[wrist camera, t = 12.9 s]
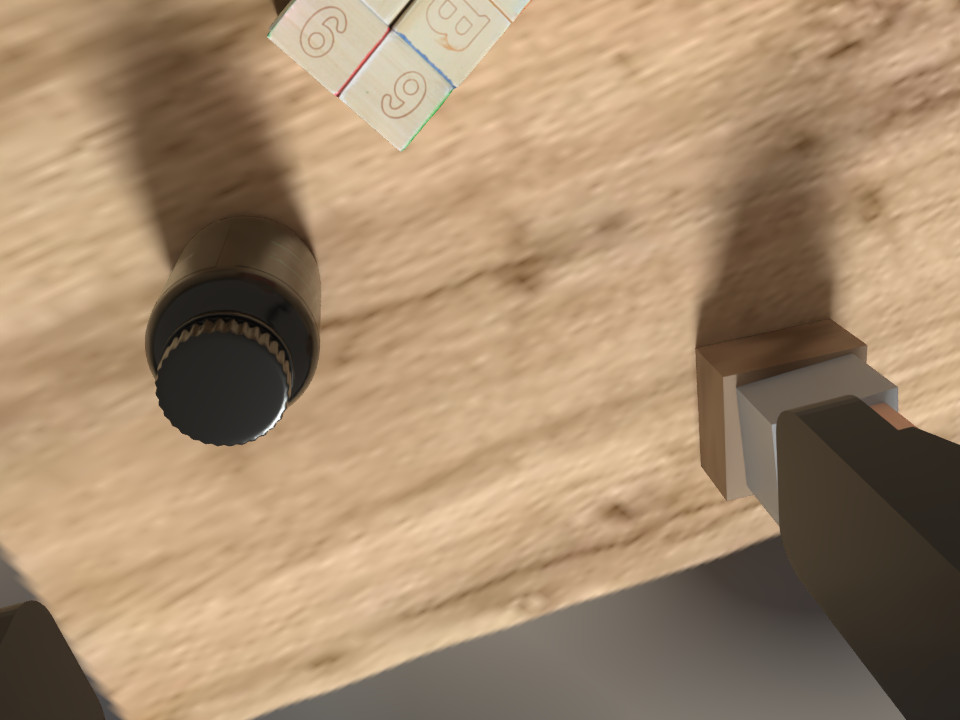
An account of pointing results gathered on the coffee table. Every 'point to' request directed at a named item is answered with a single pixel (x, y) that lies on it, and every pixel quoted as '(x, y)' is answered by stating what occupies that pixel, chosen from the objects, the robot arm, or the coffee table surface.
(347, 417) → the coffee table surface
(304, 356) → the supplement bottle
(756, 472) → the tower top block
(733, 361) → the tower base block
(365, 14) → the stack of blocks
